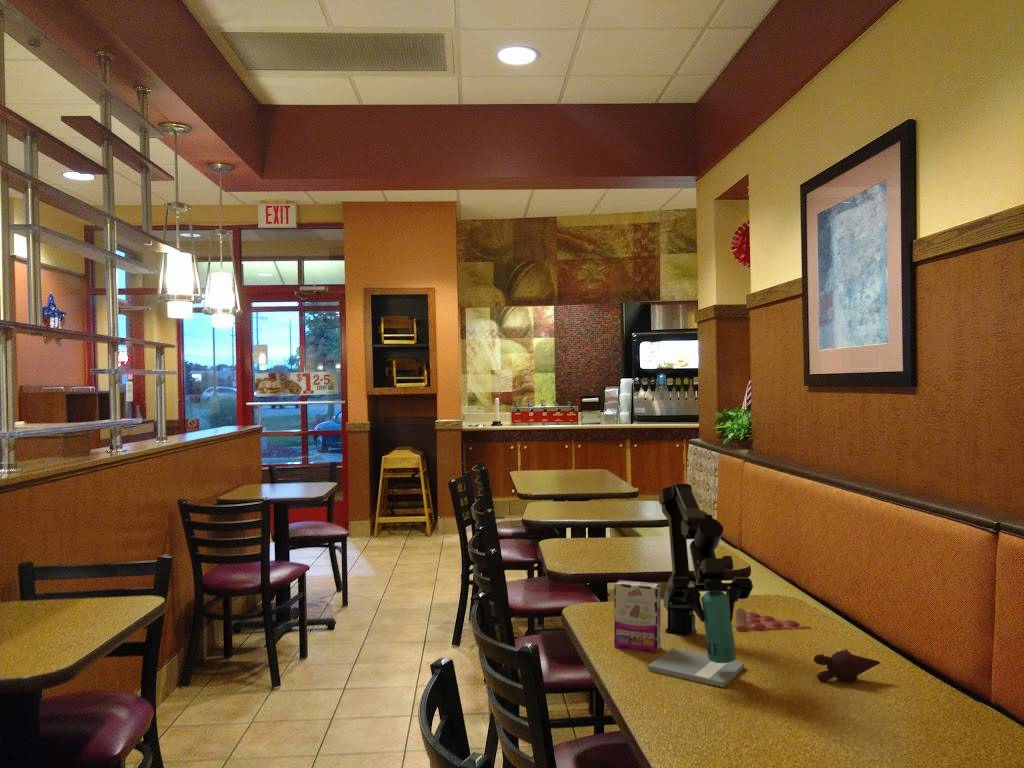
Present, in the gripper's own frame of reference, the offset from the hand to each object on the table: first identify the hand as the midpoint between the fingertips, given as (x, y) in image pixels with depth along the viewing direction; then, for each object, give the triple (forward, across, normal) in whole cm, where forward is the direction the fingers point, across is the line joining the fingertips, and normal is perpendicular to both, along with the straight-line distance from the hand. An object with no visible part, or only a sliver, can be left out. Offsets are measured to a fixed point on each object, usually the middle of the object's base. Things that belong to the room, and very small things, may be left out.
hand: (717, 621), depth 176 cm
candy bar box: (-5, -14, +25) cm, 29 cm away
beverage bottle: (+7, +2, +8) cm, 11 cm away
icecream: (+10, +30, +9) cm, 33 cm away
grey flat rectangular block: (+5, -3, +14) cm, 15 cm away
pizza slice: (-18, +28, +39) cm, 51 cm away
